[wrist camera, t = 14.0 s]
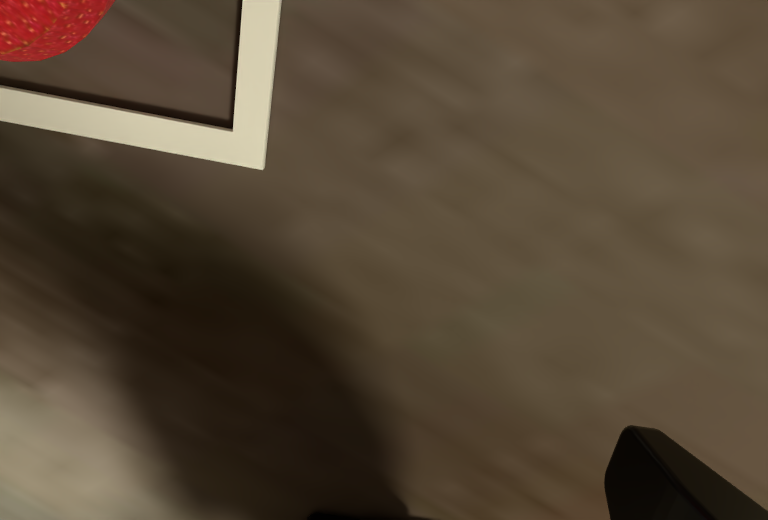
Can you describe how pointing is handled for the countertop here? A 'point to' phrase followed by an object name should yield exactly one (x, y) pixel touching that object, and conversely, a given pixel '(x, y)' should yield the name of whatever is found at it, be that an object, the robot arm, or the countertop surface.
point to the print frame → (165, 132)
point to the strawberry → (46, 26)
